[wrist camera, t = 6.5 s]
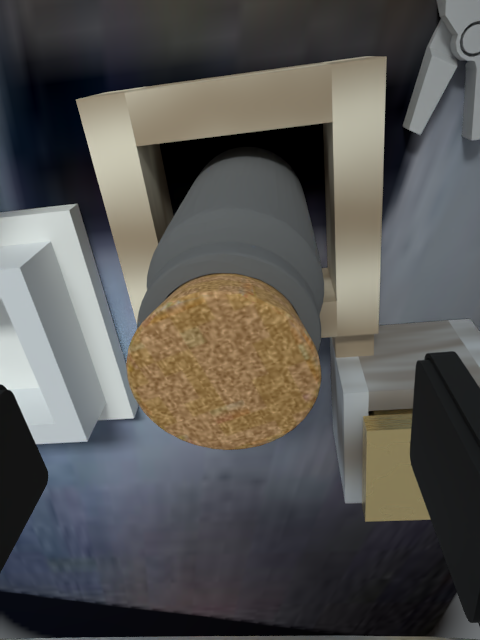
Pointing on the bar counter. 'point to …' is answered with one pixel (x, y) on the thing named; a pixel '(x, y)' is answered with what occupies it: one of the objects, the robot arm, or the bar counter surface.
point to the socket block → (341, 214)
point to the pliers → (449, 66)
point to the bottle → (232, 308)
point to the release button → (389, 468)
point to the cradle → (58, 327)
